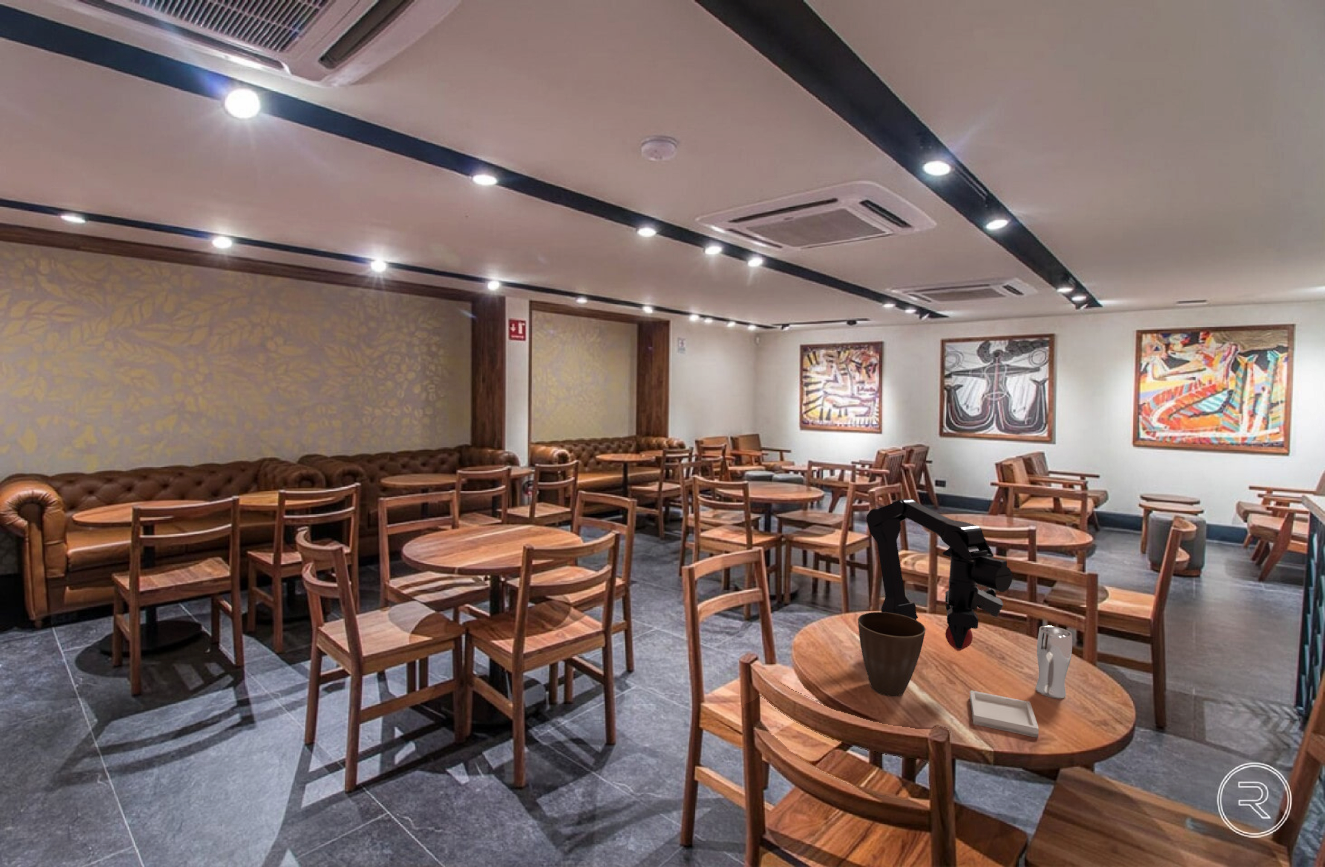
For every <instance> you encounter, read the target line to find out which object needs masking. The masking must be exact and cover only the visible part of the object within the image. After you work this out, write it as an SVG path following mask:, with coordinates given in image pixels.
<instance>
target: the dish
mask: <svg viewBox="0 0 1325 867" xmlns="http://www.w3.org/2000/svg"><path fill="white" fill-rule="evenodd" d="M969 703H970V710H971V718H972V724H973V725H975V726H981V727H985V728H990V729H995V730H999V731H1005V732H1008V733H1013V734H1018V735H1024V736H1028V737H1032V738H1036V739H1037V738H1038V739H1039V734H1040V733H1039V730H1040V727H1039V726H1038V722H1037V718H1036V716H1035V712H1034V709H1033V707H1032V703H1031V702H1030V701H1027V700H1022V699H1017V698H1012V697H1007V696H1002V695H996V694H991V693H987V692H981V691H976V690H972V689H971V690H970V691H969Z"/></svg>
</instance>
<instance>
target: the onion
mask: <svg viewBox="0 0 1325 867" xmlns="http://www.w3.org/2000/svg"><path fill="white" fill-rule="evenodd" d="M944 634H945V639H946V642H947V643H948V644H949V645H950V646H951V648H952V649H954V650H955V651H957V652H960V651H962V650H964V649H967V648H968V647H969V646H970V645H971V644H972V642H973V632H972V628H971V629H969V630H968V632H967V635H966V637H965V640H964V643H963V646H962V648H961V649H959V648H956V645H955V642H954V639H953V637H952V634H951V631H950V628H949V625H948V626H947V627H946V630H945V633H944Z"/></svg>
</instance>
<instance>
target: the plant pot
mask: <svg viewBox="0 0 1325 867" xmlns="http://www.w3.org/2000/svg"><path fill="white" fill-rule="evenodd" d="M857 625H858V626H857V627H858V635H859V643H860V648H861V656H862V658H863V663H864V668H865V672H866V676H867V678H868V681H869V684H870V687H871V689H872V690H873V691H874V692H875V693H877V694H880V695H883V696H886V697H899V696H902V695H903V694H904V693H905V691H906V689H907V688H908V686H909V684H910V681H911V679H912V678H913V674H914V672H915V670H916V667H917V664H918V661H919V658H920V656H921V651H922V649H923V648H922V647H923V644H924V639H925V634H926V627H925V626H924V624H922V623H921V621H918V620H917V619H916V620H915V619H912V618H910V617H907V616H903V615H899V614H894V613H887V612H881V611H873V612H866V613H863V614H861V615H860V616H858V618H857Z"/></svg>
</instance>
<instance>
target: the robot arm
mask: <svg viewBox="0 0 1325 867" xmlns="http://www.w3.org/2000/svg"><path fill="white" fill-rule="evenodd" d="M865 518H866V524H867V527H868V531H869V533H870V535H871V536H872V538H873V540H874V541H875V542H876V544H877V550H878V556H879V557H878V558H879V564H880V570H881V576H882V583H883V590H884V600H883V603H882V605H881V607H880V608H881V610H880V612H887V613H894V614H899V615H903V616H907V617H910V618H912V619H915V620H917V619H919V616H918V614H917V606H916V603H915V602H914V601H913V602H910V600H909V599H908V598H907V596H906V593H905V592H906V591H905V587H904V585H905V584H904V579H903V575H902V567H901V566H902V565H901V560H900V555H899V548H898V538H899V535H900V533H901V527H902V526H901V525H902V524H901V522H903V521H905V520H907V519H908V520H911V521H912V522H914V523H916V524H917V525H920V527H921V526H922V527H924V528H925V529H927V530H928V531H931V532H932V533H935V534H936V535H938V536H939V537H940V539H941V540H942V542H943V543H944V545H945V544H946V546H948V547H949V548H947V549H946V550H944V551H943V552H942V555H943V556H946V557H949V558H950V564H949V577H948V590H946V591H945V597H944V602H945V603H946V604H945V610H946V624H947V625H948V626H949V628H950V631H951V634H952V637H953V639H954V642H955V645H956V648H959V649H961V648H962V646H963V643H964V640H965V637H966V635H967V632H968V630H969V629H971V630H972V629H975V630H976V629H978V628H979V617H978V614H977V613H976V612H975V611H978V609H980V610H982V611H985V612H986V613H988V614H990V615H991V616H992V617H995V618H997V617H998V616H999V614H1000V612H1001V610H1002V609H1003V607H1004V603H1003V600H1002V599H1000V597H998V596H997V593H996V592H1001V593H1005V592H1006V591H1007V590H1009V588H1011V585H1012V582H1013V578H1014V577H1013V576H1014V575H1013V574H1012V570H1011V568H1010V567H1009V566H1008V561H1007V560H1004V559H998V558H995V557H994V553H993V551H992V549H991V547H990V546H989V544H988V542H987V540H986V538H985V535H984V533H983V529H982V528H981V527H980V526H978V524H977V525H976V524H973V523H970V522H966V521H962V520H961V521H960V520H954V519H951V518H948V517H946V516H945V515H942V514H940V513H939V512H936V511H935V510H932V509H930V508H928V507H926V506H924V505H922V504H921V503H918V502H916V500H914V499H912V498H902V499H901V498H900V499H897V500H895V501H894V502H892V503H890V504H889V503H888V504H887V505H885V506H884V505H883V506H882V507H879V508H872V509H870V511H869V512H868V513H867V514H866V517H865ZM972 550H973V551H972ZM974 550H975V551H974ZM978 585H980V586H982V587H985V588H986V589H984V590H983V589H982V590H981V589H979V588H978ZM974 610H975V611H974Z"/></svg>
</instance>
